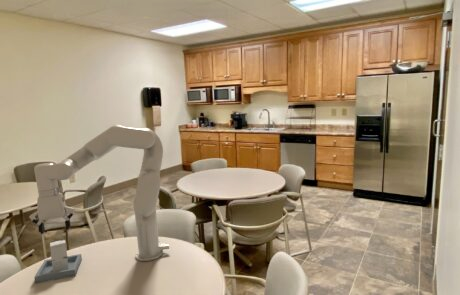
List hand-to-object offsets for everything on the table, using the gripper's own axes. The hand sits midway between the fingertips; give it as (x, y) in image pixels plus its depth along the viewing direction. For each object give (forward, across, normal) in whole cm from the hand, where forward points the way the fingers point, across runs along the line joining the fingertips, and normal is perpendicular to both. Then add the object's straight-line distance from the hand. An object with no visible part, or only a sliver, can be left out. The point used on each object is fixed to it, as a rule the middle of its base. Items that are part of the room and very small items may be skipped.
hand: (55, 230), depth 129 cm
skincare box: (+18, 0, 0) cm, 18 cm away
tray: (+19, +1, 0) cm, 19 cm away
